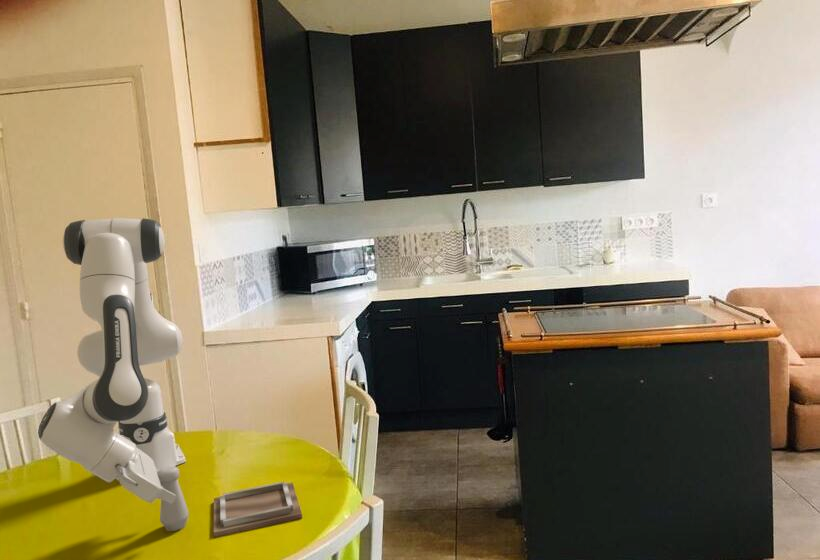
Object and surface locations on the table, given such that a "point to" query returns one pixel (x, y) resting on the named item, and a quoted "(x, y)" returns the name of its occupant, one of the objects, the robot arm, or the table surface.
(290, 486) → the socket plate
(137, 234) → the robot arm
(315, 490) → the table surface
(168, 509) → the salt shaker
